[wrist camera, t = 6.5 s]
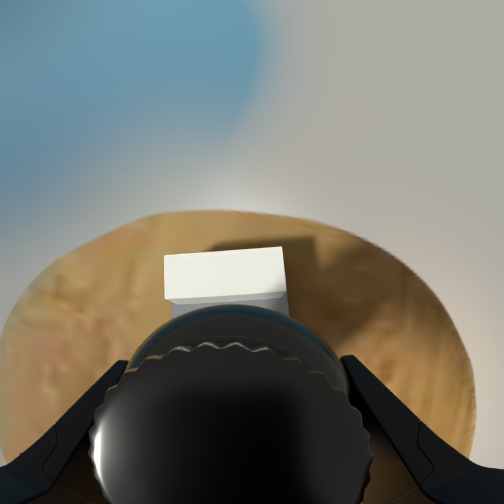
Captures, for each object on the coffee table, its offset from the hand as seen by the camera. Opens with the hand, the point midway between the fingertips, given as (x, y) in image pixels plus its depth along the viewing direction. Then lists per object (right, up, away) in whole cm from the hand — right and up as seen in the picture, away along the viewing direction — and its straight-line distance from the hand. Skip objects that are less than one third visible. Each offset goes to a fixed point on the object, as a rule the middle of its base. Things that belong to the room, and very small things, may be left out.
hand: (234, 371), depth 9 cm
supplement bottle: (0, -3, +6) cm, 7 cm away
